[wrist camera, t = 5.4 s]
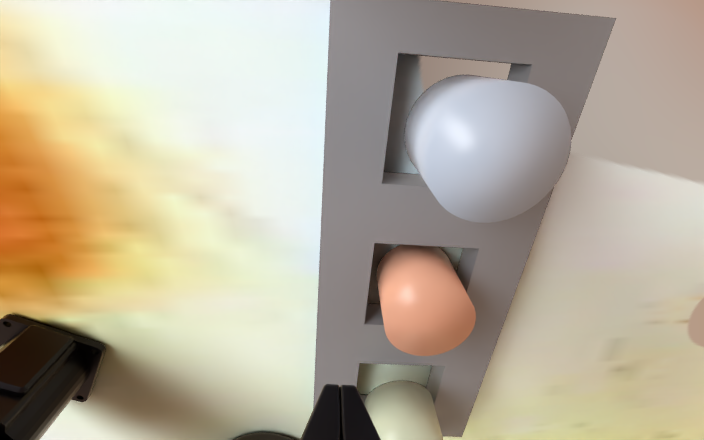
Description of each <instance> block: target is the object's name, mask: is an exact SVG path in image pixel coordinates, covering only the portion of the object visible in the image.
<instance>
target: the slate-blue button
mask: <svg viewBox="0 0 704 440" xmlns="http://www.w3.org/2000/svg"><path fill="white" fill-rule="evenodd" d="M404 136H405V146H406V150H407V153H408V156H409V158H410V160H411V162H412V163H413V165H414V166H415V168H416V169H417V171H418V172H419V174H420V175H421V177H422V178H423V180H424V181H425V183H426V184H427V186H428V187H429V189H430V190H431V192H432V193H433V195H434V196H435V198H436V199H437V201H438V202H439V203H440V204H441V205H442V206H443V207H444V208H445V209H446V210H447V211H448V212H450V213H451V214H453V215H455V216H456V217H459V218H461V219H464V220H467V221H471V222H478V223H491V222H498V221H503V220H507V219H510V218H512V217H515V216H517V215H519V214H522V213H523V212H525V211H527V210H529V209H530V208H532V207H533V206H534V205H536V204H537V203H538V202H540V201H541V200H542V199H543V198H544V197H545V196H546V195H547V194H548V193H549V192H550V191H551V189H552V188H553V187H554V186H555V184H556V183H557V181H558V180H559V178H560V176H561V175H562V173H563V171H564V169H565V166H566V164H567V161H568V158H569V154H570V148H571V127H570V123H569V119H568V117H567V114H566V112H565V110H564V108H563V107H562V105H561V104H560V102H559V101H558V100H557V99H556V98H555V97H554V96H553V95H551V94H550V93H549V92H547V91H546V90H544V89H542V88H540V87H538V86H535V85H532V84H529V83H523V82H516V81H509V80H502V79H495V78H488V77H481V76H474V75H456V76H452V77H448V78H446V79H443V80H441V81H439V82H437V83H435V84H433V85H432V86H431V87H430V88H428V89H427V90H426V91H425V92H424V93H423V94H422V95H421V96H420V97H419V98H418V99H417V101H416V102H415V104H414V105H413V107H412V109H411V111H410V113H409V115H408V118H407V121H406V126H405V135H404Z"/></svg>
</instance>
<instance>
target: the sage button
mask: <svg viewBox="0 0 704 440" xmlns="http://www.w3.org/2000/svg"><path fill="white" fill-rule="evenodd" d="M365 407H366V409H367V411H368V413H369V415H370V418H371V420H372V422H373V424H374V426H375V428H376V430H377V433H378V435H379V437H380V439H381V440H443V437H442V433H441V429H440V426H439V422H438V418H437V414H436V411H435V407H434V403H433V399H432V396H431V393H430V392H429V390H428V389H427V388H425V387H424V386H422V385H421V384H418V383H416V382H412V381H392V382H388V383H385V384H382V385H380V386H378V387H376V388H375V389H373V390H372V391H371V392H370V393H369V394H368V396H367V397H366V400H365Z"/></svg>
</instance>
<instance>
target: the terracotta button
mask: <svg viewBox="0 0 704 440" xmlns="http://www.w3.org/2000/svg"><path fill="white" fill-rule="evenodd" d="M376 277H377V285H378V291H379V297H380V304H381V310H382V316H383V323H384V329H385V333H386V336H387V338H388V340H389V341H390V342H391V344H392V345H393V346H395V347H396V348H397V349H399V350H401V351H403V352H405V353H408V354H411V355H416V356H432V355H438V354H441V353H445V352H447V351H450V350H452V349H454V348H455V347H457V346H458V345H460V344H461V343H462V342H464V341H465V340H466V338H467V337H468V336H469V335H470V333H471V332H472V330H473V328H474V325H475V321H476V312H475V308H474V306H473V304H472V302H471V300H470V298H469V296H468V294H467V293H466V291H465V289H464V287H463V285H462V283H461V281H460V279H459V277H458V276H457V274H456V272H455V270H454V268H453V266H452V264H451V262H450V260H449V259H448V257H447V255H446V254H445V253H444V252H443V251H442V250H441V249H440V248H439V247H437V246H421V245H402V244H401V245H399V246H397V247H395V248H393V249H392V250H390V251H389V252H388V253H387V254H386V255H385V256H384V257H383V258H382V260H381V261H380V263H379V265H378V268H377V274H376Z"/></svg>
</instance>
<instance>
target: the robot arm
mask: <svg viewBox="0 0 704 440" xmlns="http://www.w3.org/2000/svg"><path fill="white" fill-rule="evenodd" d="M105 350H106V348H105V346H104V345H103V344H101V343H98V342H95V341H92V340H89V339H86V338H83V337H80V336H77V335H74V334H71V333H68V332H65V331H61V330H58V329H55V328H52V327H49V326H46V325H43V324H40V323H37V322H34V321H31V320H27V319H24V318H21V317H18V316H15V315H11V314H8V315H5V316H4V317H3V318H1V319H0V440H40V438H41V437H42V436H43V435H44V433H45V432H46V431H47V430H48V428H49V427H50V426H51V424H52V423H53V422H54V421H55V419H56V418H57V417H58V416H59V414H60V413H61V412H62V411H63V409H64V408H65V407H66V405H67V404H68V403H69V402H70V400H71V399H72V400H76V401H79V402H85V401H86V400H87V399H88V398H89V396H90V395H91V392H92V389H93V386H94V383H95V380H96V377H97V374H98V371H99V368H100V365H101V362H102V359H103V356H104V353H105ZM300 440H381V439H380V437H379V435H378V433H377V430H376V428H375V426H374V424H373V422H372V420H371V418H370V415H369V413H368V411H367V409H366V407H365V405H364V403H363V400H362V398H361V396H360V394H359V392H358V390H357V388H356V386H354V385H341V386H340V387H339V385H337V384H325V385H324V386H323V388H322V391H321V393H320V395H319V398H318V400H317V402H316V405H315V407H314V409H313V412H312V414H311V416H310V419H309V421H308V423H307V425H306V428H305V430H304V432H303V435H302V437H301V439H300Z"/></svg>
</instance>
